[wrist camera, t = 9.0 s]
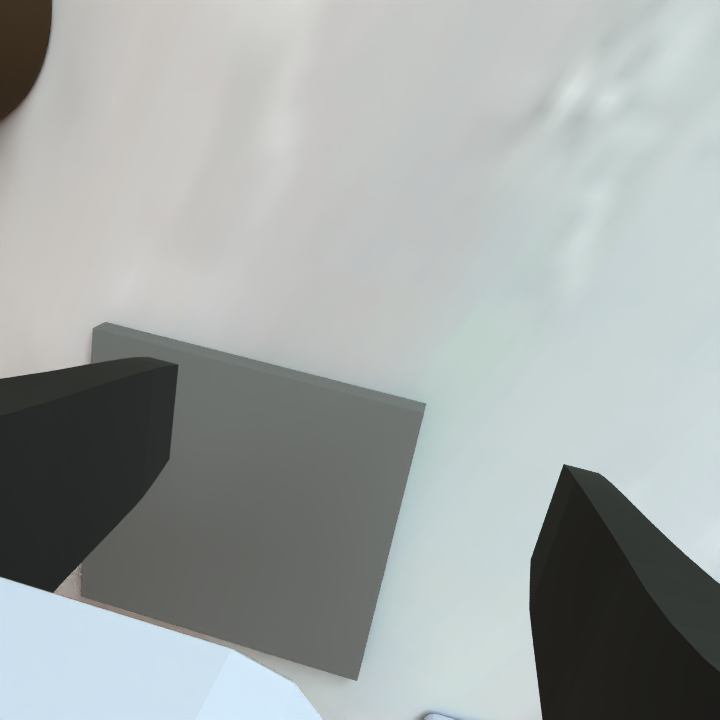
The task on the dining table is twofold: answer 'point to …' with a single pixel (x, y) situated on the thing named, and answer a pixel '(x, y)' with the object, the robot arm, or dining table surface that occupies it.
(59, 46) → the dining table surface
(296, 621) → the mat
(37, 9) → the olive oil
